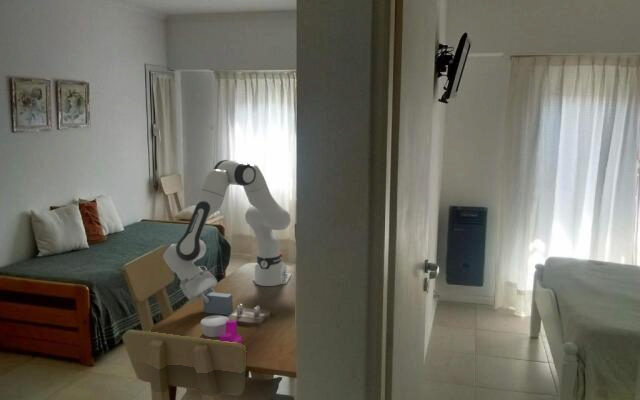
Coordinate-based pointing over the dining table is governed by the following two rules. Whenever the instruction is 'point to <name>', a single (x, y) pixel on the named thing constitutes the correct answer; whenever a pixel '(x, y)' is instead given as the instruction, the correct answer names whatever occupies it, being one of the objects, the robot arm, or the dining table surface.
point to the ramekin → (214, 326)
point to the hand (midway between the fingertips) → (212, 299)
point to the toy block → (231, 332)
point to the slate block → (218, 303)
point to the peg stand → (250, 316)
